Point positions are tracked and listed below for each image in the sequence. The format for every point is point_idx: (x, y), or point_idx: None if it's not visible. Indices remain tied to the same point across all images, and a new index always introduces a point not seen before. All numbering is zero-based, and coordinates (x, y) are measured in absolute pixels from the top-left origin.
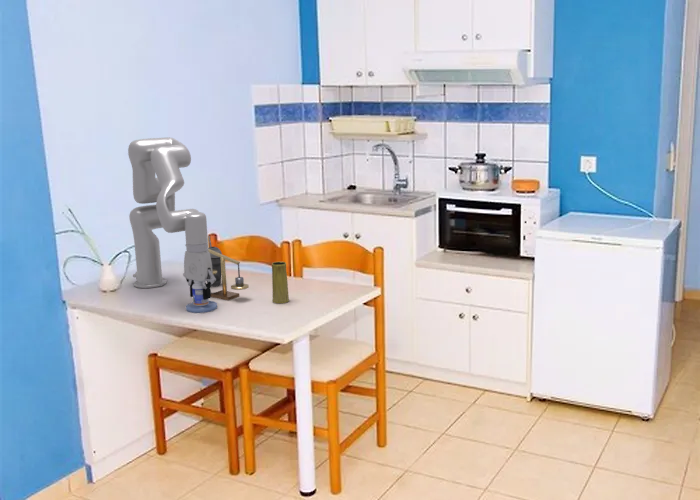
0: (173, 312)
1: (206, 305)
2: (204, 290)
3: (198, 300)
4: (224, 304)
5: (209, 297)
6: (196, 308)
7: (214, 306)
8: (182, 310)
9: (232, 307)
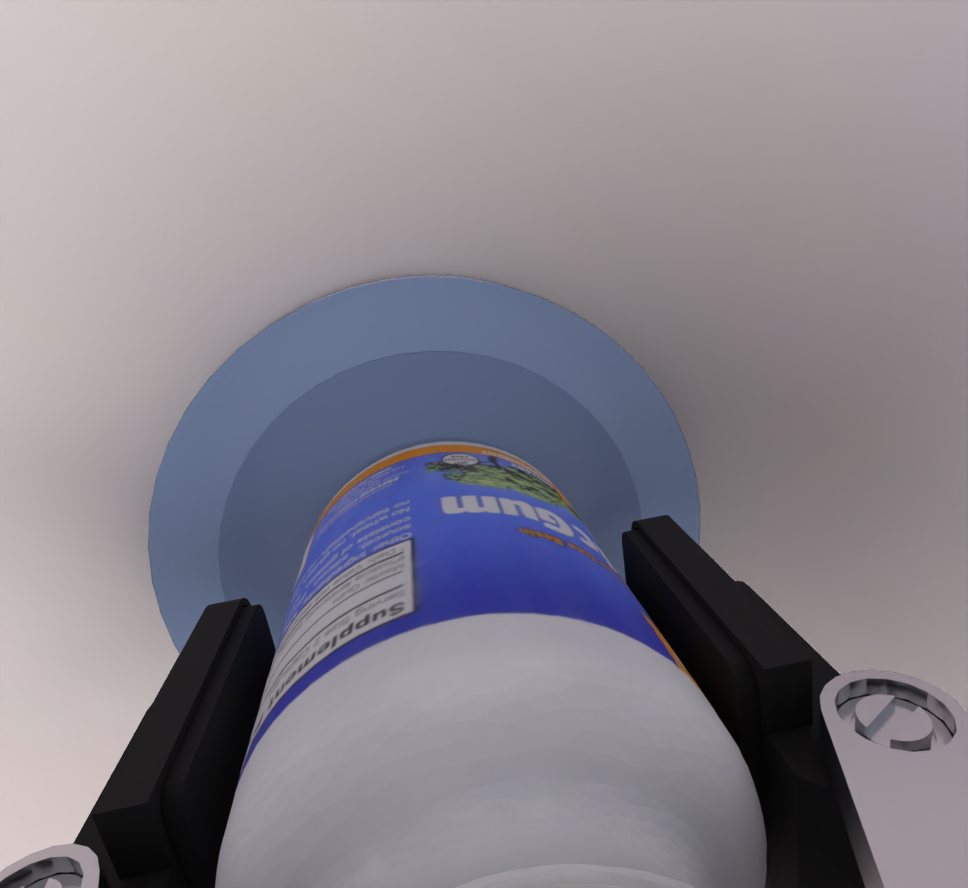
0: (633, 65)
1: None
2: (123, 788)
3: (352, 512)
4: None
5: None
6: (318, 383)
7: None
8: (598, 256)
9: None
